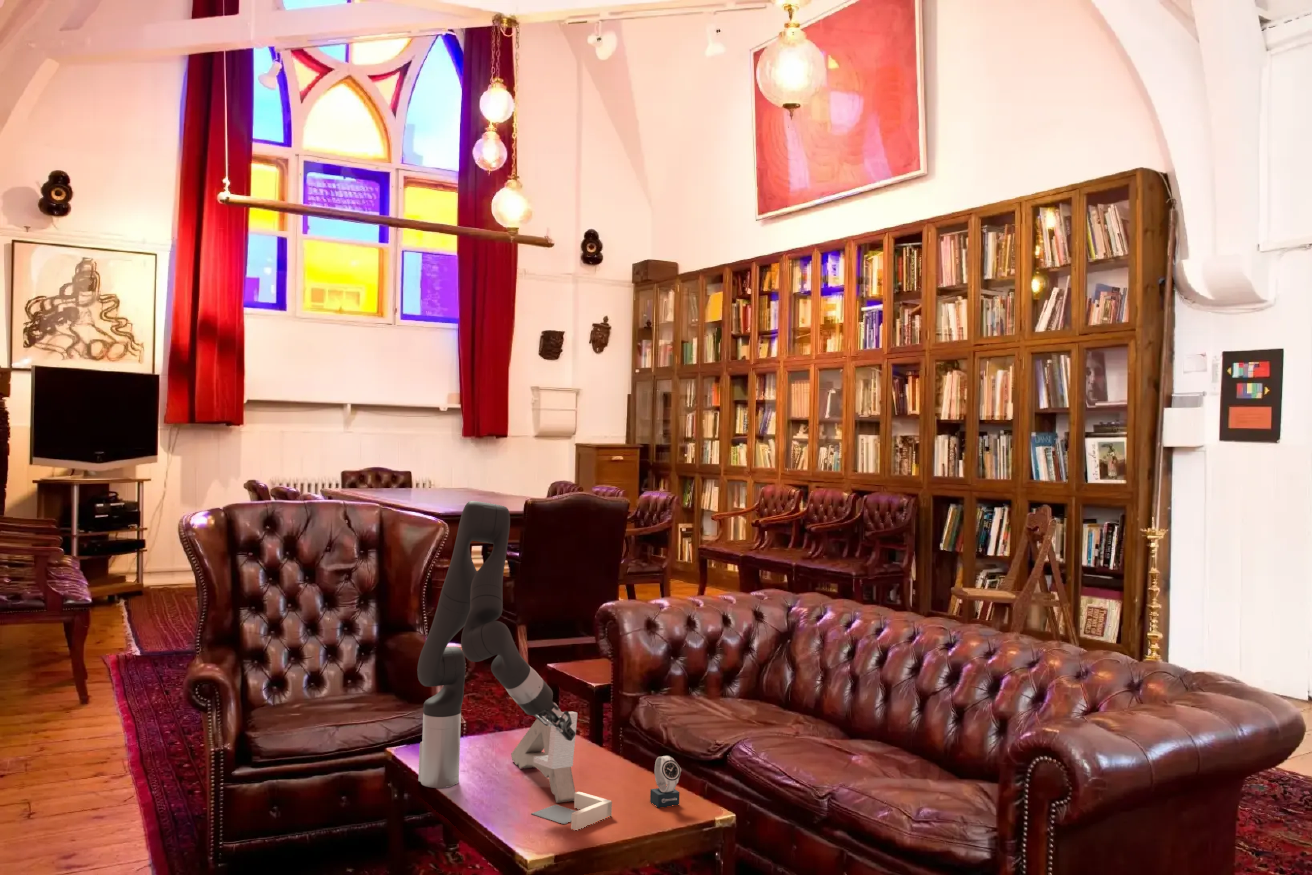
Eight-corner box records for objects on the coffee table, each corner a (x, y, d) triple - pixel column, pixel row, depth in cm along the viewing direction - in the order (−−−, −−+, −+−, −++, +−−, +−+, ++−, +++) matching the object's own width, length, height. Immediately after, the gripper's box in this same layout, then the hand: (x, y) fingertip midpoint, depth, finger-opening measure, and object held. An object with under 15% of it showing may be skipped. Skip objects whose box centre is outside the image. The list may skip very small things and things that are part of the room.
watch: (661, 810, 233) (663, 763, 233) (647, 800, 240) (648, 753, 241) (683, 807, 235) (684, 760, 236) (667, 797, 243) (669, 751, 243)
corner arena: (542, 819, 225) (543, 804, 225) (578, 806, 234) (578, 791, 234) (576, 830, 219) (576, 814, 219) (611, 816, 228) (611, 800, 228)
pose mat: (531, 814, 228) (531, 813, 228) (555, 805, 235) (555, 804, 235) (564, 824, 222) (564, 823, 222) (587, 815, 229) (587, 814, 229)
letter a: (540, 836, 259) (576, 798, 237) (523, 838, 257) (559, 800, 235) (526, 752, 271) (560, 708, 249) (511, 753, 269) (543, 709, 247)
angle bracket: (533, 762, 230) (538, 708, 231) (554, 759, 234) (559, 707, 235) (552, 769, 225) (557, 714, 226) (572, 766, 229) (577, 712, 230)
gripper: (557, 680, 218) (598, 729, 227) (519, 670, 228) (559, 716, 236) (537, 709, 215) (579, 756, 223) (499, 697, 224) (541, 743, 233)
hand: (569, 736), depth 230 cm, fingers closed on angle bracket
